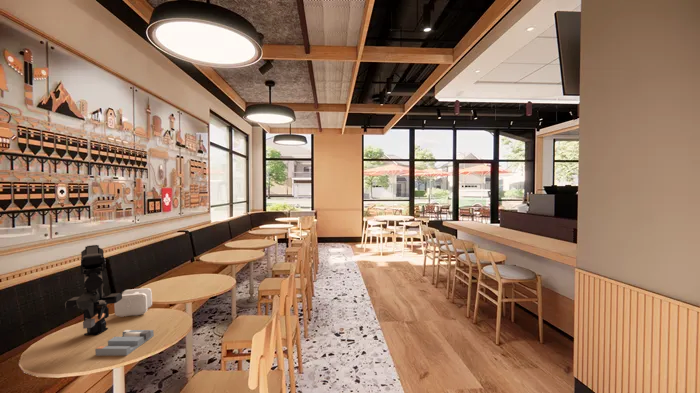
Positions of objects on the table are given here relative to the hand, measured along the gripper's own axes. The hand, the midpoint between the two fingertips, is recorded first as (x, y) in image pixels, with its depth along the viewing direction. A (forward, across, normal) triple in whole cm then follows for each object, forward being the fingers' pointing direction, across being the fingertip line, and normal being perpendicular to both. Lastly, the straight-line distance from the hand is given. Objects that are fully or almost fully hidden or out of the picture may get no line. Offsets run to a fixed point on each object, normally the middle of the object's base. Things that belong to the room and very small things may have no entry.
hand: (95, 319), depth 132 cm
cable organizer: (+11, +1, +34) cm, 36 cm away
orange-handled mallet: (+1, 0, 0) cm, 1 cm away
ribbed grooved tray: (+11, +13, -4) cm, 18 cm away
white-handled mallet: (+10, +15, -1) cm, 18 cm away
